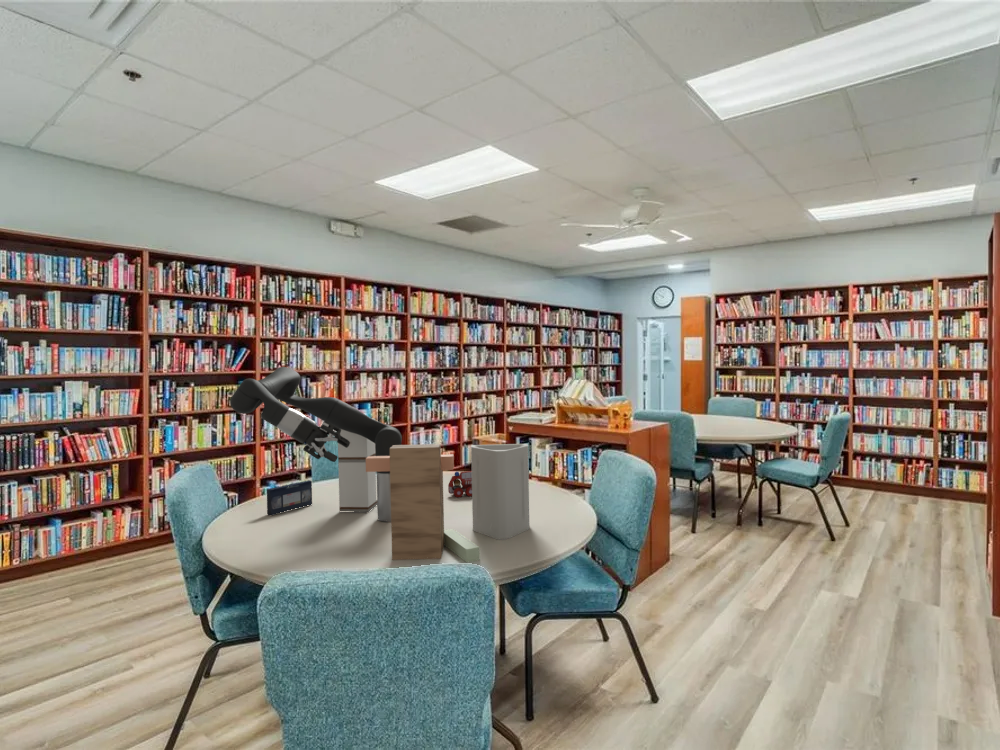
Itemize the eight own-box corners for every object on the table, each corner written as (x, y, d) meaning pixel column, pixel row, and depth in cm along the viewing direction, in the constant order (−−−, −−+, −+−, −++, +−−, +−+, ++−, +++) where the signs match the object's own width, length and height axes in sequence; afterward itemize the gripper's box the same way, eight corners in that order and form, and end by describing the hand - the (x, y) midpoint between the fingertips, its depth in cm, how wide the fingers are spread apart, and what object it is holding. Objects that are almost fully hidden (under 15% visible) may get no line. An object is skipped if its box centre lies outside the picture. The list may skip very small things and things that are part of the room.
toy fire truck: (447, 494, 232) (446, 470, 232) (475, 492, 235) (474, 468, 235) (449, 498, 226) (449, 473, 225) (478, 496, 229) (478, 471, 228)
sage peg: (441, 543, 169) (441, 530, 169) (453, 541, 171) (453, 528, 171) (466, 563, 151) (466, 549, 151) (479, 561, 153) (479, 547, 153)
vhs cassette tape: (270, 516, 204) (269, 489, 203) (266, 515, 205) (265, 488, 205) (313, 505, 218) (312, 481, 218) (308, 504, 220) (308, 480, 220)
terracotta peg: (368, 469, 165) (368, 456, 165) (453, 467, 166) (453, 454, 166) (365, 471, 161) (365, 458, 161) (453, 469, 162) (452, 456, 162)
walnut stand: (398, 545, 166) (396, 442, 166) (444, 544, 166) (442, 441, 166) (392, 559, 154) (389, 448, 154) (441, 558, 154) (438, 447, 154)
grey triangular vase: (471, 540, 170) (470, 451, 170) (473, 526, 185) (471, 445, 185) (532, 538, 171) (530, 450, 170) (528, 524, 186) (527, 443, 185)
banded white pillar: (377, 505, 216) (375, 418, 216) (368, 512, 206) (366, 420, 205) (349, 505, 217) (347, 418, 217) (339, 512, 207) (337, 421, 206)
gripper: (281, 446, 166) (328, 472, 170) (301, 420, 158) (348, 448, 163) (292, 430, 172) (336, 456, 176) (311, 404, 164) (357, 432, 169)
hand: (342, 452), depth 169 cm, fingers open, 8 cm apart
